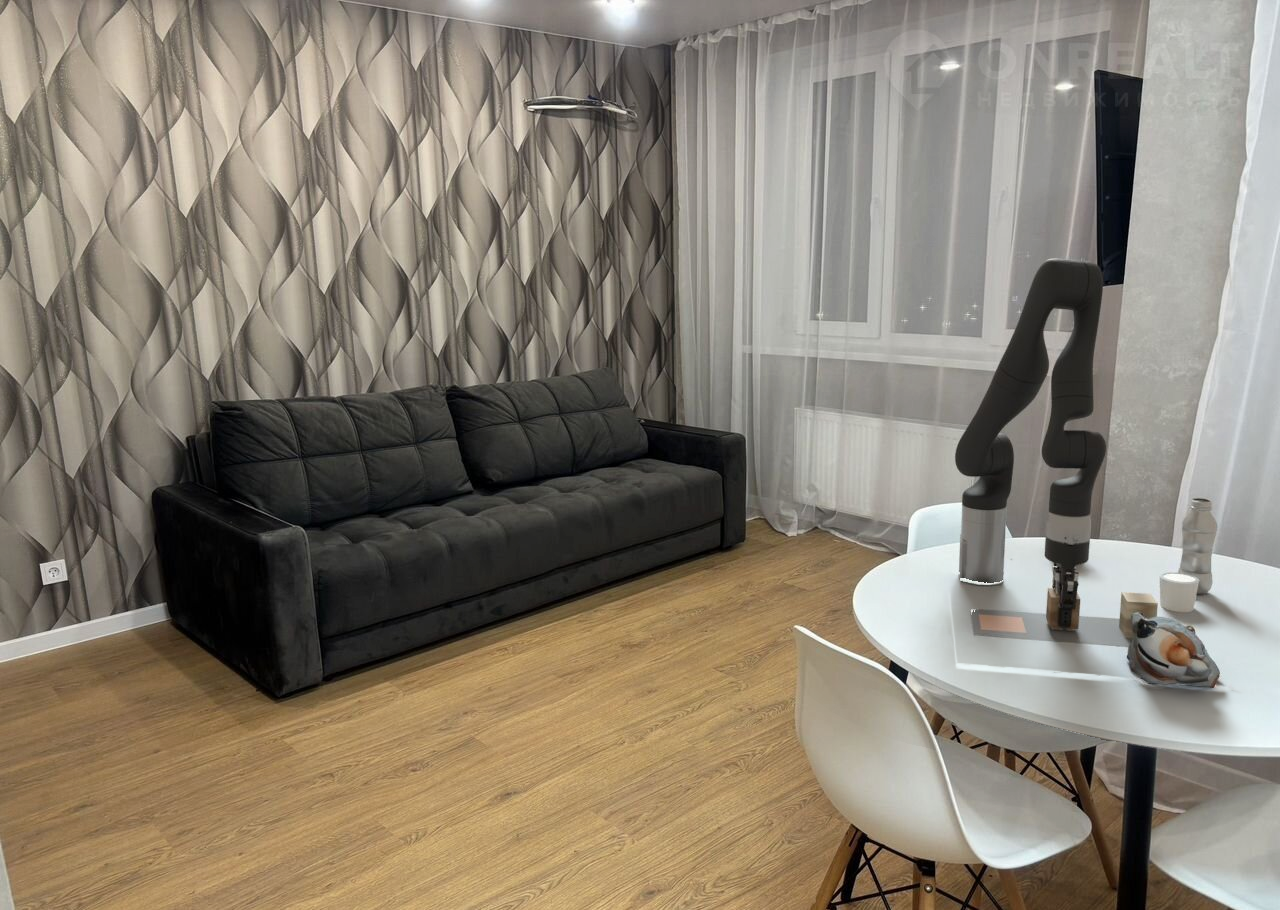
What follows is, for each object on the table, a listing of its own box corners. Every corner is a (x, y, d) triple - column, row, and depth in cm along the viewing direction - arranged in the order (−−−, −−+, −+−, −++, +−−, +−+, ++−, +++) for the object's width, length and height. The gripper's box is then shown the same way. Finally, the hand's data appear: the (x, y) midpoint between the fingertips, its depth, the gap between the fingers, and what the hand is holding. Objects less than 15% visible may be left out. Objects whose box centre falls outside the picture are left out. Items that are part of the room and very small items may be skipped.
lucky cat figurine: (1238, 684, 148) (1244, 629, 140) (1181, 722, 146) (1184, 668, 139) (1161, 630, 160) (1162, 576, 153) (1107, 664, 159) (1106, 611, 151)
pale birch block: (1124, 637, 167) (1127, 601, 165) (1118, 627, 171) (1121, 592, 170) (1154, 639, 165) (1157, 603, 164) (1148, 629, 170) (1151, 593, 168)
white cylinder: (1162, 601, 185) (1165, 569, 184) (1200, 609, 180) (1204, 576, 179) (1152, 611, 180) (1154, 578, 179) (1190, 619, 176) (1193, 585, 174)
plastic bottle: (1201, 586, 193) (1209, 495, 189) (1218, 597, 186) (1226, 504, 182) (1169, 586, 193) (1177, 496, 190) (1185, 597, 187) (1193, 504, 183)
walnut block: (1049, 627, 170) (1051, 597, 169) (1045, 617, 175) (1047, 588, 174) (1078, 629, 169) (1080, 599, 168) (1074, 619, 174) (1076, 590, 172)
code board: (973, 639, 170) (973, 634, 170) (969, 612, 183) (969, 608, 183) (1170, 654, 161) (1170, 649, 161) (1151, 624, 174) (1151, 620, 174)
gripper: (1041, 523, 176) (1036, 605, 180) (1050, 545, 163) (1045, 633, 166) (1083, 525, 174) (1077, 608, 177) (1096, 548, 161) (1090, 637, 164)
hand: (1062, 620), depth 172 cm, fingers closed on walnut block, 5 cm apart
